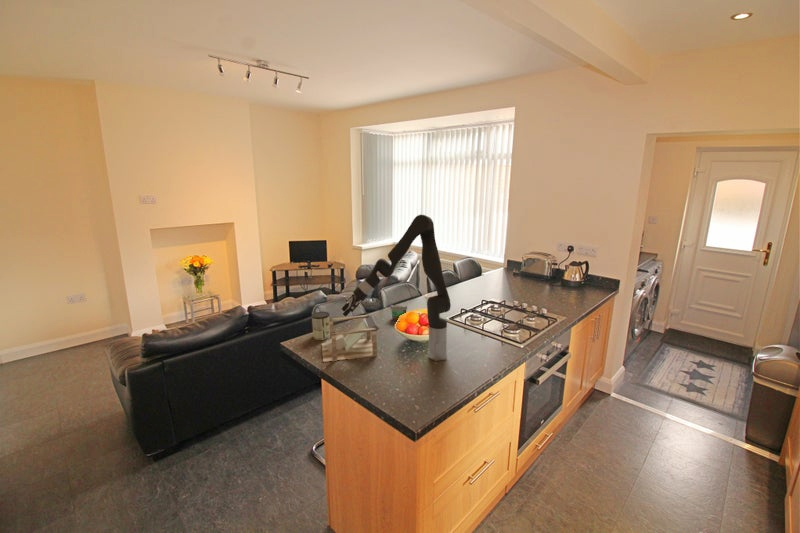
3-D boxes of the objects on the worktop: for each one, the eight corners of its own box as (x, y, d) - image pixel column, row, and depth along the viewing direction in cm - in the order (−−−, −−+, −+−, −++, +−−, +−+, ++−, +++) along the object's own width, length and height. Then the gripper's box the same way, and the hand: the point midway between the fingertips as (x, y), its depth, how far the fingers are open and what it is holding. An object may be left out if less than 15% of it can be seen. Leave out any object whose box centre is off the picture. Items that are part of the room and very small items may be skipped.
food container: (386, 320, 243) (386, 306, 241) (391, 317, 249) (391, 303, 247) (403, 323, 238) (403, 308, 236) (407, 320, 243) (407, 306, 241)
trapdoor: (379, 329, 192) (374, 324, 191) (351, 356, 191) (345, 351, 190) (373, 317, 209) (369, 312, 208) (347, 342, 208) (342, 337, 207)
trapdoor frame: (377, 355, 192) (376, 329, 189) (323, 362, 186) (321, 335, 182) (370, 338, 214) (369, 314, 211) (321, 344, 207) (320, 319, 204)
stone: (342, 337, 195) (325, 345, 194) (346, 344, 196) (329, 352, 195) (342, 333, 200) (325, 341, 198) (345, 340, 201) (329, 349, 200)
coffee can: (316, 332, 224) (314, 311, 221) (332, 333, 223) (331, 311, 220) (310, 339, 214) (309, 317, 211) (327, 340, 213) (326, 317, 210)
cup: (443, 319, 243) (444, 297, 240) (425, 319, 243) (425, 298, 240) (442, 313, 255) (442, 292, 252) (424, 313, 255) (424, 292, 252)
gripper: (357, 282, 201) (337, 304, 200) (360, 289, 187) (339, 312, 187) (366, 291, 203) (347, 312, 203) (370, 298, 189) (349, 321, 189)
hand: (343, 312), depth 195 cm, fingers open, 8 cm apart
